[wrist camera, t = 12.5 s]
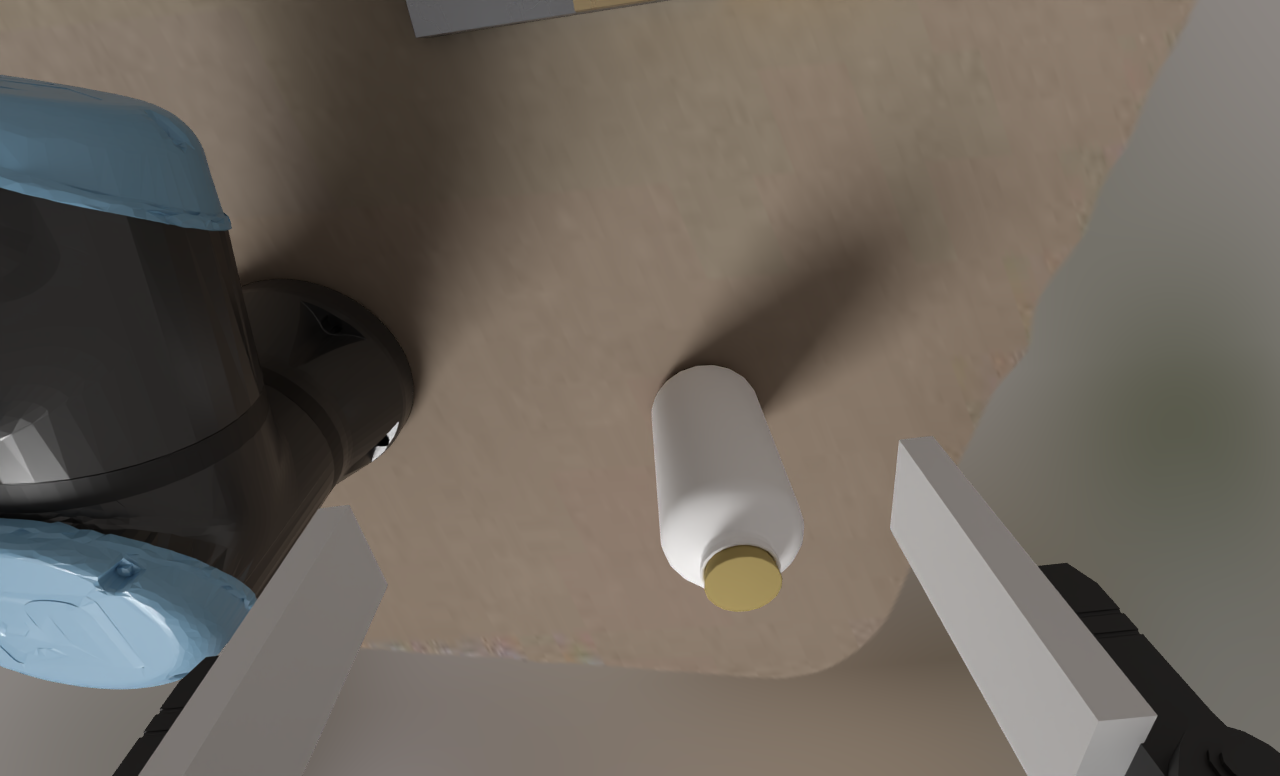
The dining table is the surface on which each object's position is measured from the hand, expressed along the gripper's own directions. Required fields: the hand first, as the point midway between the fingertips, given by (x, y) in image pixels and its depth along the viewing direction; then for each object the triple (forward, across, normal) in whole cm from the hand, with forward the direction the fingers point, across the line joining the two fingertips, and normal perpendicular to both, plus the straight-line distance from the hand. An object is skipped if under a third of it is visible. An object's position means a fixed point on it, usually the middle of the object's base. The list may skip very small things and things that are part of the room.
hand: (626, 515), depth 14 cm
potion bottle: (+29, +4, -15) cm, 33 cm away
